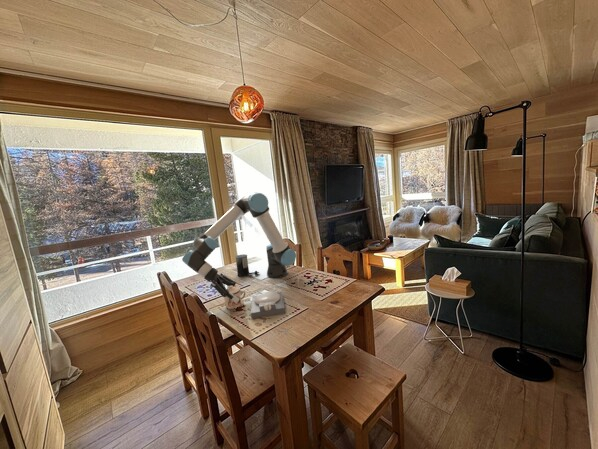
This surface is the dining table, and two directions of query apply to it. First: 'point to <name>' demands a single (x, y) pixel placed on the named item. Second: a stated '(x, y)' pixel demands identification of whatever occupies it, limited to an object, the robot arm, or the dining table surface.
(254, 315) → the kitchen scale
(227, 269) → the dining table surface
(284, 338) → the dining table surface
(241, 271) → the milk frother
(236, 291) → the teacup with lid
